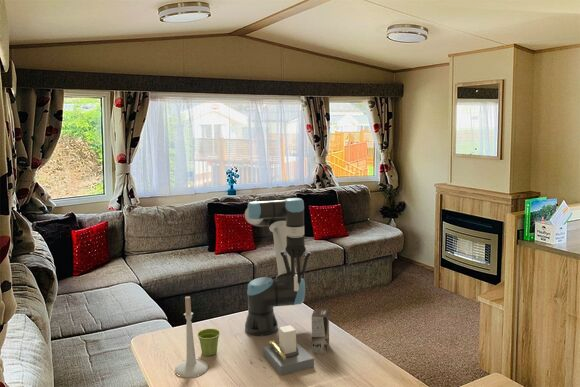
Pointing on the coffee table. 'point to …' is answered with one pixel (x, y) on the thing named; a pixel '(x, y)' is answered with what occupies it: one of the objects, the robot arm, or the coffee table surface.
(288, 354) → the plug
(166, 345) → the coffee table surface
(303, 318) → the coffee table surface
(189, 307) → the candlestick
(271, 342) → the tan long thin stick
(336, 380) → the coffee table surface
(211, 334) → the plant pot
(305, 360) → the socket
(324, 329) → the coffee box
